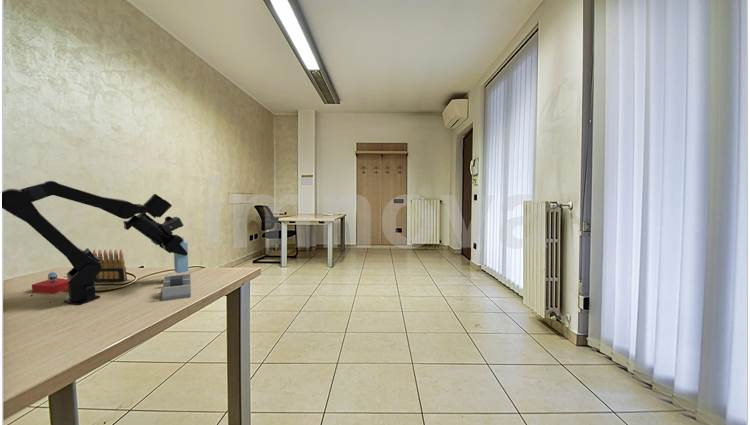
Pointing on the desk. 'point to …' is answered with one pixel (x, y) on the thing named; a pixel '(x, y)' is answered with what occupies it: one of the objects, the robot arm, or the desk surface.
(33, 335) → the desk surface
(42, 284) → the red block with knob
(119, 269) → the ammunition clip
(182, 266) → the blue plug
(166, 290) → the organizer
